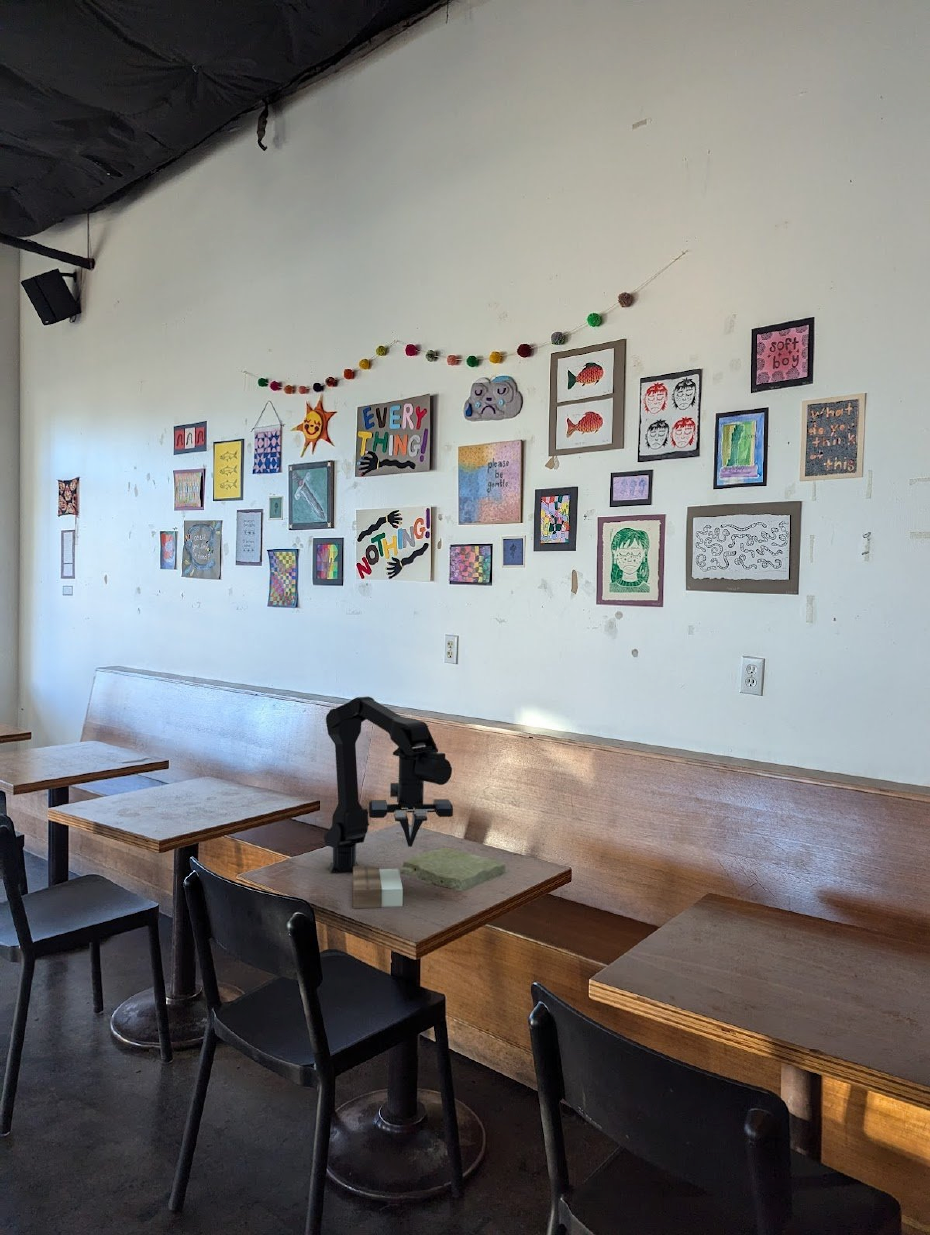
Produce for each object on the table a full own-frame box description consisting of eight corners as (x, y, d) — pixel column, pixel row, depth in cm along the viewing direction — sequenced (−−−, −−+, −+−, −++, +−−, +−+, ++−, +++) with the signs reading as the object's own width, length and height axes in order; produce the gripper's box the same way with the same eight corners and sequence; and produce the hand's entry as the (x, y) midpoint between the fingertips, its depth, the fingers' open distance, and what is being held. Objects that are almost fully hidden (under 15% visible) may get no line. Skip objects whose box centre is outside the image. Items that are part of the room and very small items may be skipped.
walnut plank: (352, 883, 200) (353, 865, 200) (378, 882, 201) (378, 865, 201) (353, 908, 184) (353, 889, 184) (381, 907, 185) (381, 888, 185)
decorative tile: (443, 858, 223) (443, 844, 223) (506, 875, 211) (506, 860, 211) (394, 875, 208) (395, 861, 208) (460, 894, 196) (460, 879, 196)
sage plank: (402, 907, 186) (402, 889, 186) (381, 908, 186) (382, 889, 186) (398, 885, 200) (398, 868, 200) (378, 886, 200) (379, 869, 200)
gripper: (447, 770, 203) (446, 835, 203) (368, 770, 200) (367, 837, 200) (453, 780, 192) (452, 849, 192) (370, 780, 189) (368, 851, 189)
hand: (409, 846), depth 194 cm, fingers closed
